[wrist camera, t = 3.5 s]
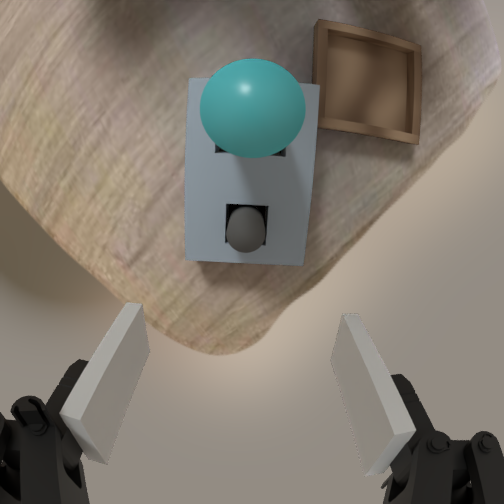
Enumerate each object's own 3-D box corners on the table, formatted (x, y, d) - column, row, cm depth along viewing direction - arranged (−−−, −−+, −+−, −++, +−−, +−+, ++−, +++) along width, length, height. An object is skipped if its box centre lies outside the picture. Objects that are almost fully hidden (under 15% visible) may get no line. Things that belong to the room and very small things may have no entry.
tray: (309, 127, 29) (313, 126, 27) (313, 26, 25) (318, 19, 23) (408, 143, 30) (418, 144, 27) (411, 50, 25) (421, 45, 23)
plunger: (229, 235, 31) (225, 251, 27) (230, 203, 30) (226, 214, 26) (262, 237, 31) (264, 253, 27) (264, 205, 30) (266, 216, 26)
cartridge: (222, 148, 30) (197, 156, 16) (225, 94, 28) (203, 57, 14) (278, 151, 30) (301, 161, 16) (281, 97, 28) (308, 63, 14)
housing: (192, 246, 34) (185, 260, 30) (196, 85, 28) (189, 78, 24) (297, 251, 34) (303, 266, 31) (311, 91, 28) (319, 85, 24)
